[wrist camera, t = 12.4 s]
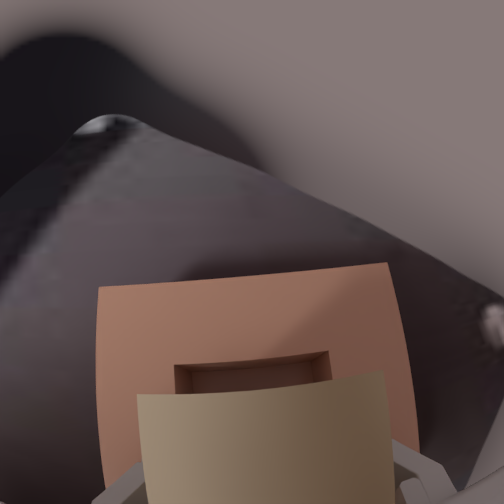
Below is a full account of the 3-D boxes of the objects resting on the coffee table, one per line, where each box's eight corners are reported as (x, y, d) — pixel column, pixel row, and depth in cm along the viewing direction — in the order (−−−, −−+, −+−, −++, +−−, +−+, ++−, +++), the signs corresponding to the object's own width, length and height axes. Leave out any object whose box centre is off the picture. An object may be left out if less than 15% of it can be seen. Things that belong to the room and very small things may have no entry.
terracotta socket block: (153, 524, 14) (121, 559, 8) (136, 317, 20) (98, 286, 15) (379, 502, 14) (420, 528, 9) (354, 298, 21) (387, 262, 15)
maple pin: (223, 466, 13) (167, 587, 3) (216, 396, 15) (136, 394, 4) (300, 458, 14) (393, 561, 3) (292, 389, 15) (382, 369, 5)
